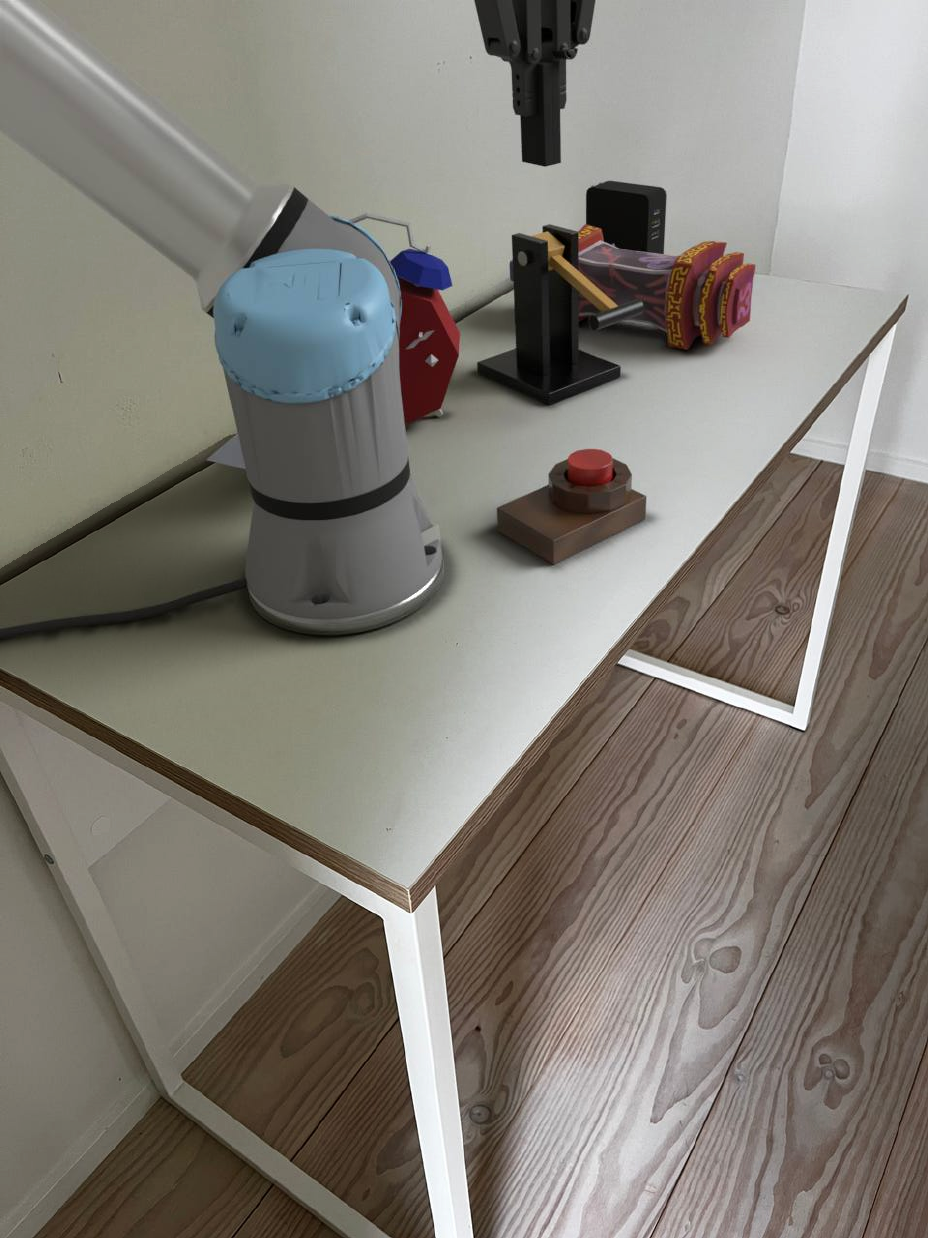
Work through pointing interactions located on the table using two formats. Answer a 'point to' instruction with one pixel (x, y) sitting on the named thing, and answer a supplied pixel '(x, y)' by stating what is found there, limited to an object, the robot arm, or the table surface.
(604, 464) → the light button
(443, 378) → the alarm clock
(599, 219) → the electronic device
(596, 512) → the switch block
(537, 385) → the switch bracket
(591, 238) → the red patterned flared cylinder
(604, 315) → the light lever
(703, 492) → the table surface
